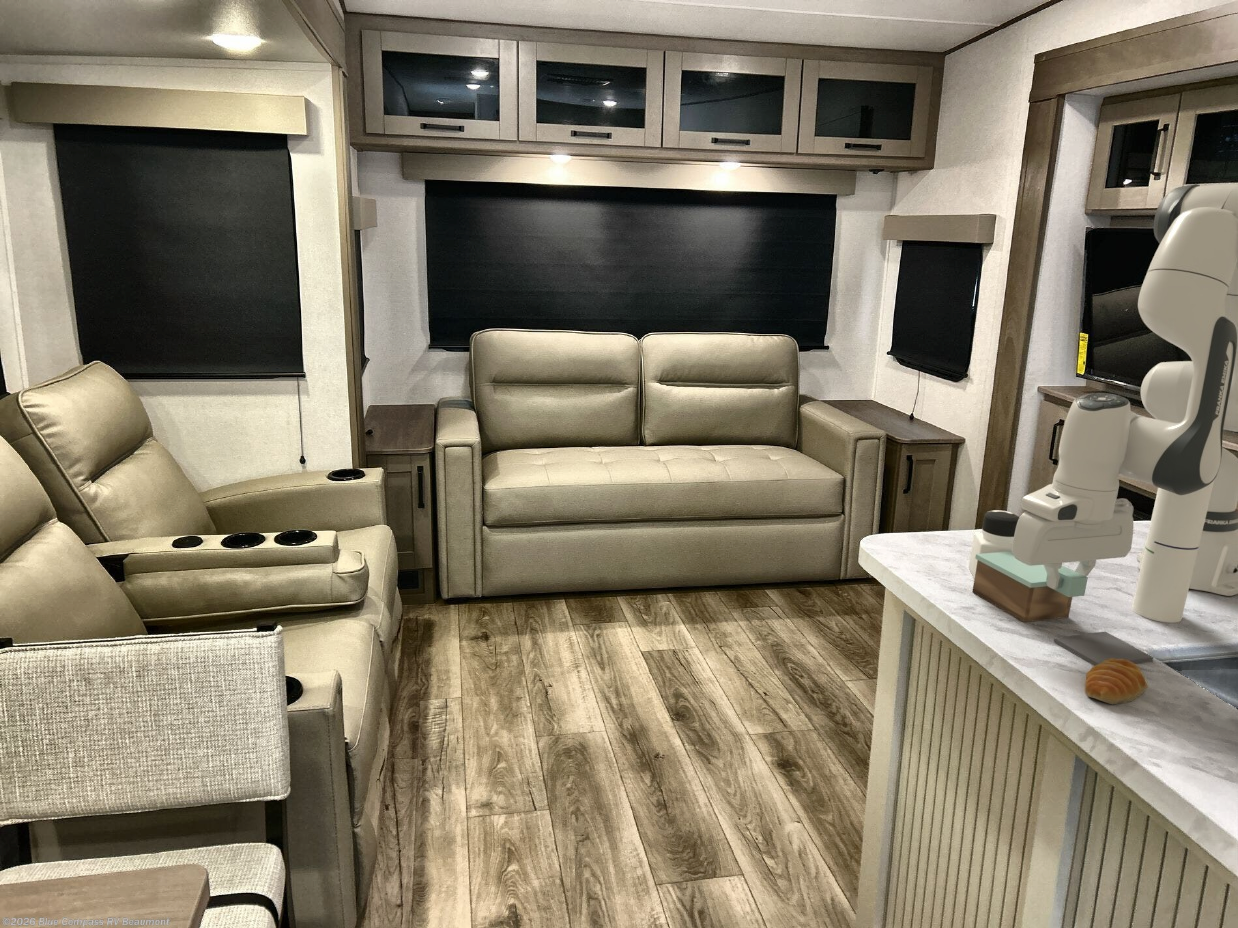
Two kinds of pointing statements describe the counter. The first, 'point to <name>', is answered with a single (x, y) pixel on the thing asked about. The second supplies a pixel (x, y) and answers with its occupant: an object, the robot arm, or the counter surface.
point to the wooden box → (1019, 596)
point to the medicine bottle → (993, 535)
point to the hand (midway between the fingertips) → (1065, 586)
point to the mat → (1101, 648)
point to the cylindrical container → (1170, 554)
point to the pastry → (1115, 681)
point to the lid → (1034, 573)
